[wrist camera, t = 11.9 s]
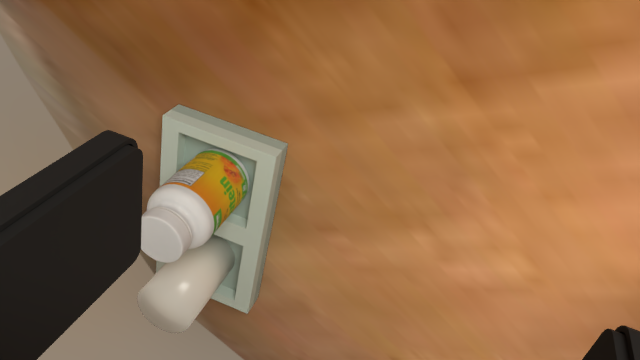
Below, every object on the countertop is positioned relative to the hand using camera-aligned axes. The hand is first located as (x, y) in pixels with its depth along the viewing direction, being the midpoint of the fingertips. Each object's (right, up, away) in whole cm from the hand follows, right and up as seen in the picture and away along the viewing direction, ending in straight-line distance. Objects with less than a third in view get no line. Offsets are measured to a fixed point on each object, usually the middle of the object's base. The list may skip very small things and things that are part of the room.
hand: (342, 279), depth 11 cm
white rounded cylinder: (-11, -5, +40) cm, 42 cm away
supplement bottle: (-9, +2, +36) cm, 37 cm away
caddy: (-9, -1, +39) cm, 40 cm away
